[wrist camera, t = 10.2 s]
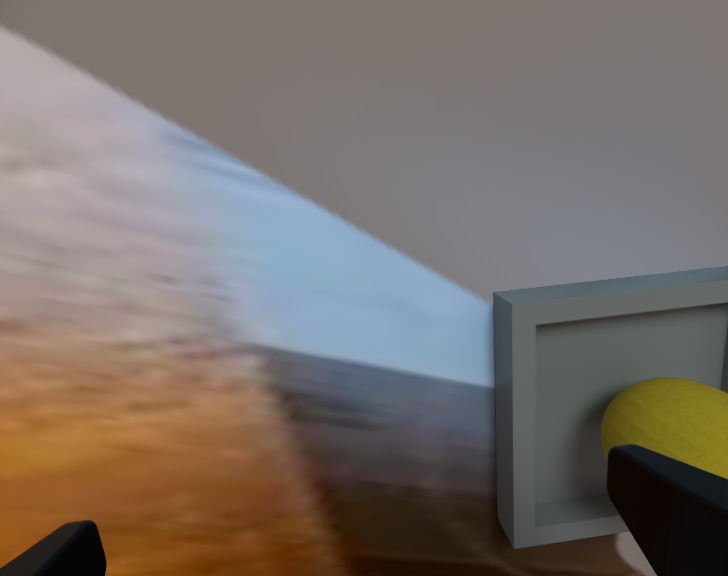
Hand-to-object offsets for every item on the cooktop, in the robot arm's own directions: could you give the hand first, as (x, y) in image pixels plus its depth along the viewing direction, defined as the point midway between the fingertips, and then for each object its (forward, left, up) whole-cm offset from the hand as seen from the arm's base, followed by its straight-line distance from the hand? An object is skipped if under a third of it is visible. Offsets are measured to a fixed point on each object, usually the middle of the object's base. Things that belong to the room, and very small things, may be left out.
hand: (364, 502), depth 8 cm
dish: (-6, -13, -12) cm, 19 cm away
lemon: (-6, -13, -12) cm, 18 cm away
